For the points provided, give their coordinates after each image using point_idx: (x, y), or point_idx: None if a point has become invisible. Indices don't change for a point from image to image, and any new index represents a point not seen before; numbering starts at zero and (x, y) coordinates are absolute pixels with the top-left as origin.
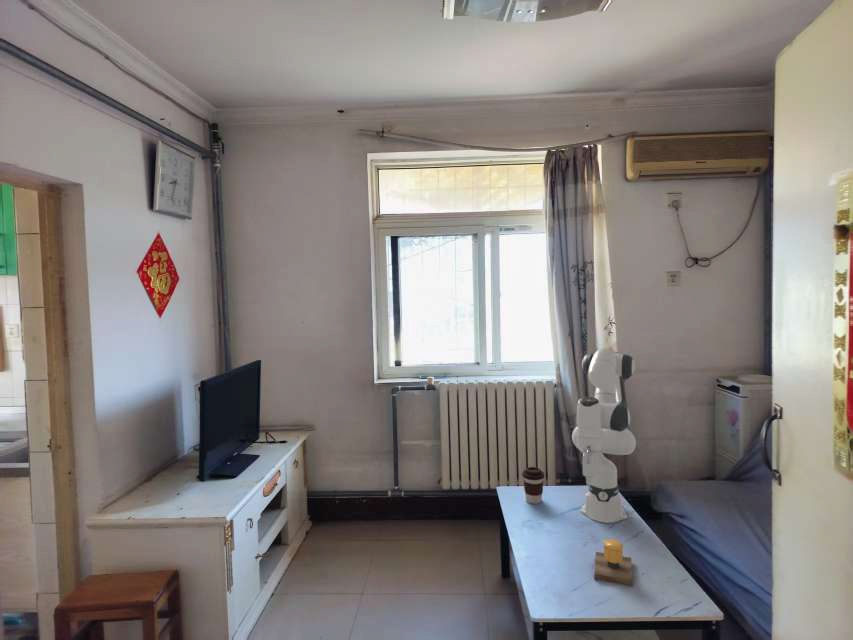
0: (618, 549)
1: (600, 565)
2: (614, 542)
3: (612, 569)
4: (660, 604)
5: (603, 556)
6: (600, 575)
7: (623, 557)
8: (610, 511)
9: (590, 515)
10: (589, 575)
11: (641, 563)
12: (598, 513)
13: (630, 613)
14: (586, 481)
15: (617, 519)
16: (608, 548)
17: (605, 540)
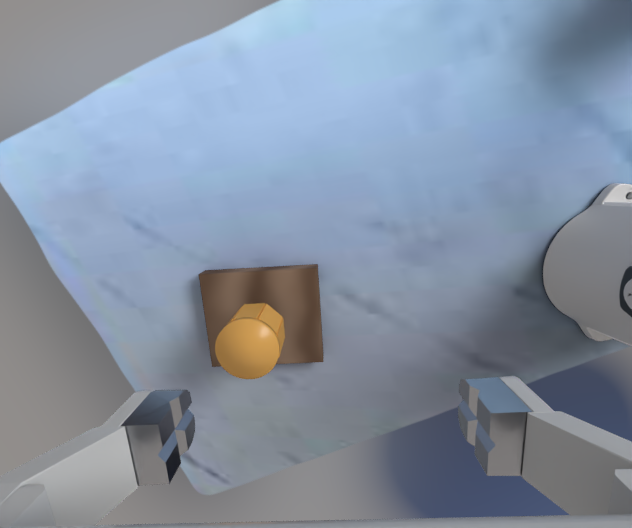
0: (223, 366)
1: (247, 286)
2: (260, 353)
3: None
4: None
5: (298, 291)
6: (202, 289)
7: (315, 343)
8: (585, 302)
9: (576, 224)
10: (217, 256)
11: (331, 377)
12: (574, 257)
13: (112, 355)
14: (116, 413)
15: (567, 313)
16: (218, 335)
17: (261, 324)
